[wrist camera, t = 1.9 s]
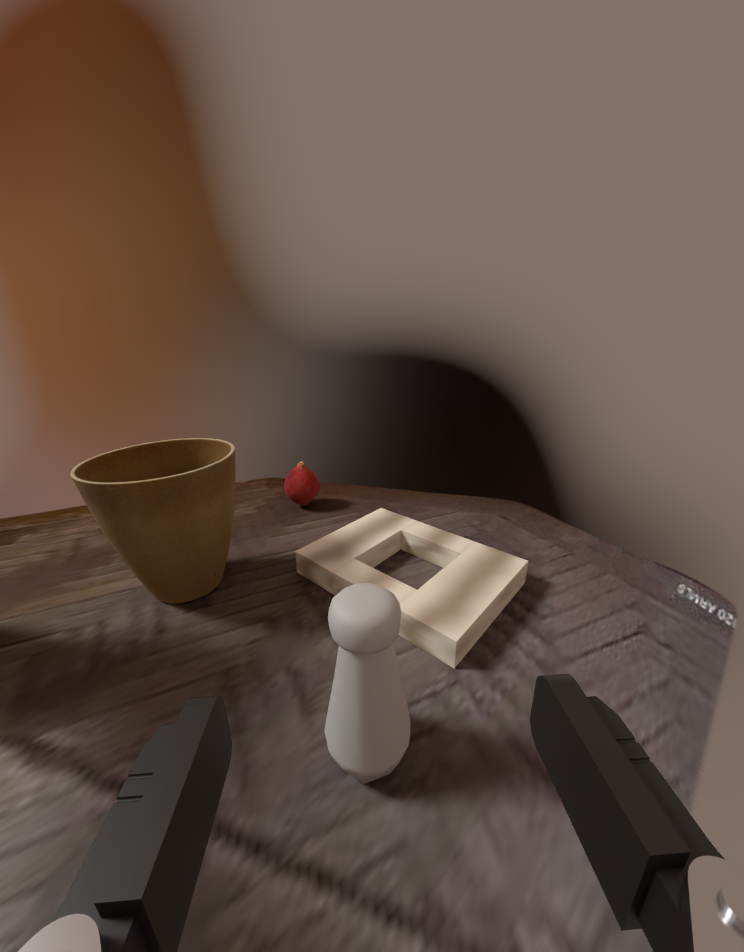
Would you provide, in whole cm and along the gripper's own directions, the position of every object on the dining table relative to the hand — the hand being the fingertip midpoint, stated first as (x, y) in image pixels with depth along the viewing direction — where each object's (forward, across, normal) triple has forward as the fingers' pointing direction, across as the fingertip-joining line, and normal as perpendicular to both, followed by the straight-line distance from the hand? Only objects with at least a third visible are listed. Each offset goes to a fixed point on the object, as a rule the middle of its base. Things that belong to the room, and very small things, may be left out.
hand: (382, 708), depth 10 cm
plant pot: (+32, +21, +18) cm, 42 cm away
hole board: (+31, -6, +18) cm, 36 cm away
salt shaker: (+11, 0, +18) cm, 22 cm away
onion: (+53, +9, +18) cm, 57 cm away
